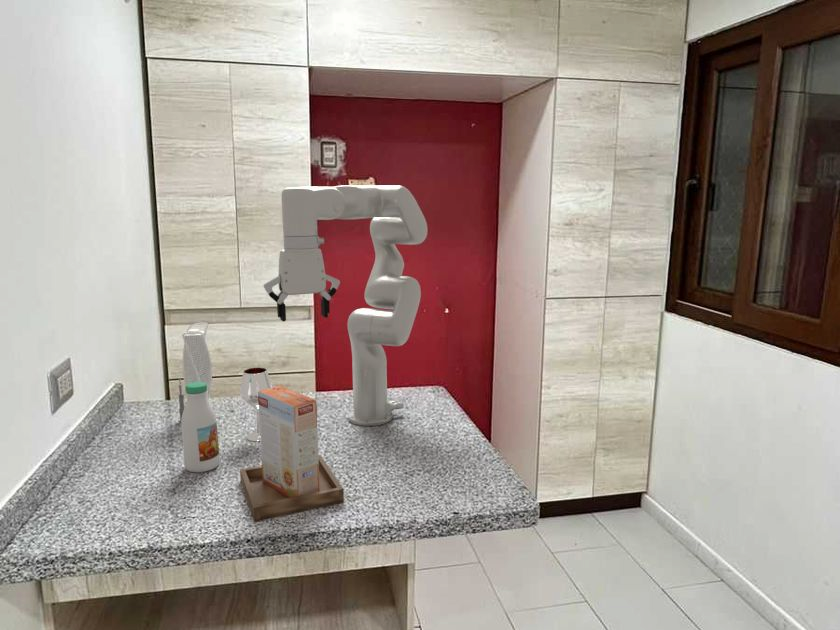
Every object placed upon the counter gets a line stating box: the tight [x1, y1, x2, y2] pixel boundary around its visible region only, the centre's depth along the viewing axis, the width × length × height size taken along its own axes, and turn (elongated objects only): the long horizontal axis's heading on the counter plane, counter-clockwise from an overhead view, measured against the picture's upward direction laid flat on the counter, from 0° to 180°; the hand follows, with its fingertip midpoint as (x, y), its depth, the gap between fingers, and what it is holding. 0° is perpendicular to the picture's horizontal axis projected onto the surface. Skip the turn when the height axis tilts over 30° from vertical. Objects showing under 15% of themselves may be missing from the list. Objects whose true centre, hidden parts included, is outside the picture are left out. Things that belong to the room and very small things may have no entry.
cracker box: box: [258, 385, 320, 498], centre depth 124 cm, size 14×6×21 cm, turn 44°
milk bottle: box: [180, 382, 221, 473], centre depth 136 cm, size 8×8×20 cm
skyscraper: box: [178, 321, 213, 423], centre depth 164 cm, size 8×8×28 cm
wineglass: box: [239, 367, 273, 442], centre depth 153 cm, size 8×8×18 cm
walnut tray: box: [239, 454, 345, 523], centre depth 126 cm, size 18×18×3 cm
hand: (304, 318), depth 136 cm, fingers open, 9 cm apart
